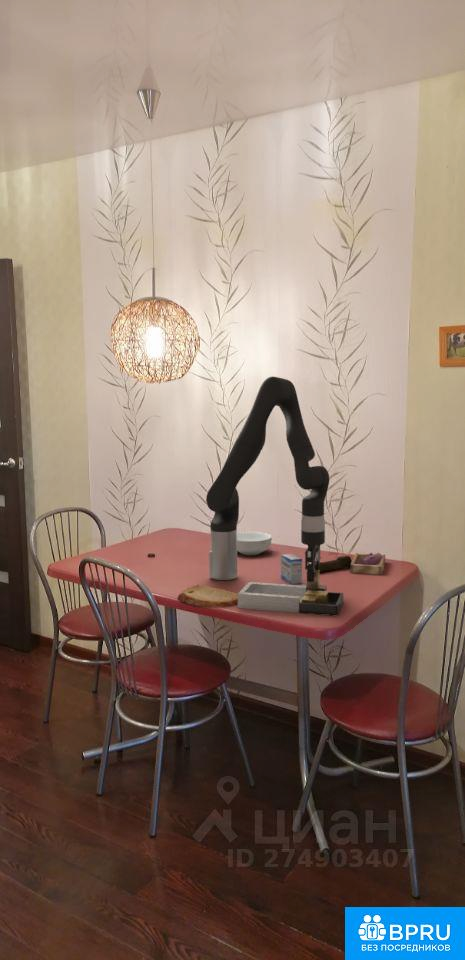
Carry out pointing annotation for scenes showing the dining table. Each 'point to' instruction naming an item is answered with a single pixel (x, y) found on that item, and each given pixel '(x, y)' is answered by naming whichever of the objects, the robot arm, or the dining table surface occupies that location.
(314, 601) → the tan wood block
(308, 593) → the khaki small block
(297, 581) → the medicine box
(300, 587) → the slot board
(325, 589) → the beige and grey block
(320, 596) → the tan square block
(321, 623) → the dining table surface
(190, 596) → the slice of bread
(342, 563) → the hand tool
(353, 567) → the light wood shallow tray
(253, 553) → the cereal bowl
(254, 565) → the dining table surface
